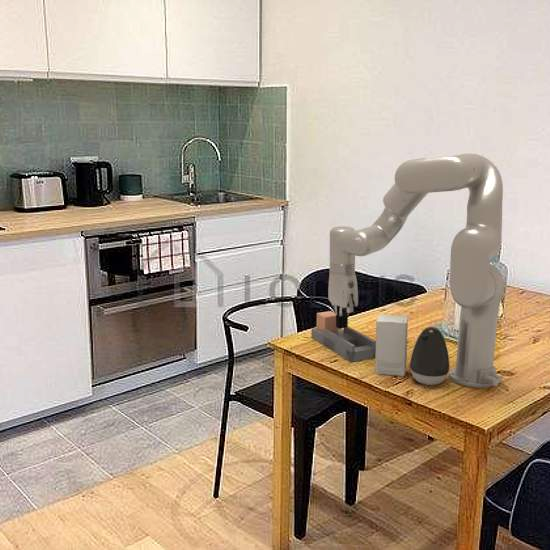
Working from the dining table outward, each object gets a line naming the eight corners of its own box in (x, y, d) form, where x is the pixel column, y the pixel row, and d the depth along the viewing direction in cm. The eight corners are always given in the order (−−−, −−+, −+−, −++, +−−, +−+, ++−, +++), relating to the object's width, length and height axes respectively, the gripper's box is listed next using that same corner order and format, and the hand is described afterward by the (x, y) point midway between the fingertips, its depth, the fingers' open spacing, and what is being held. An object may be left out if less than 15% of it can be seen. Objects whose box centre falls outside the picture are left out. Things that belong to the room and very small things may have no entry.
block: (338, 330, 201) (338, 315, 200) (324, 333, 199) (325, 317, 198) (329, 325, 205) (330, 311, 204) (316, 328, 203) (316, 313, 202)
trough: (375, 357, 187) (376, 341, 186) (351, 362, 184) (352, 346, 183) (334, 333, 207) (334, 318, 206) (311, 337, 204) (311, 322, 202)
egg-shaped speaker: (400, 381, 171) (404, 327, 168) (422, 370, 178) (426, 318, 175) (434, 393, 164) (438, 337, 161) (455, 381, 171) (459, 327, 168)
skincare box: (406, 368, 180) (409, 315, 176) (404, 377, 174) (407, 322, 170) (376, 365, 182) (379, 312, 178) (373, 374, 176) (376, 320, 172)
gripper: (367, 272, 186) (366, 332, 190) (339, 262, 199) (339, 319, 203) (345, 275, 183) (344, 336, 187) (318, 265, 196) (318, 322, 200)
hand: (341, 327), depth 195 cm, fingers closed
